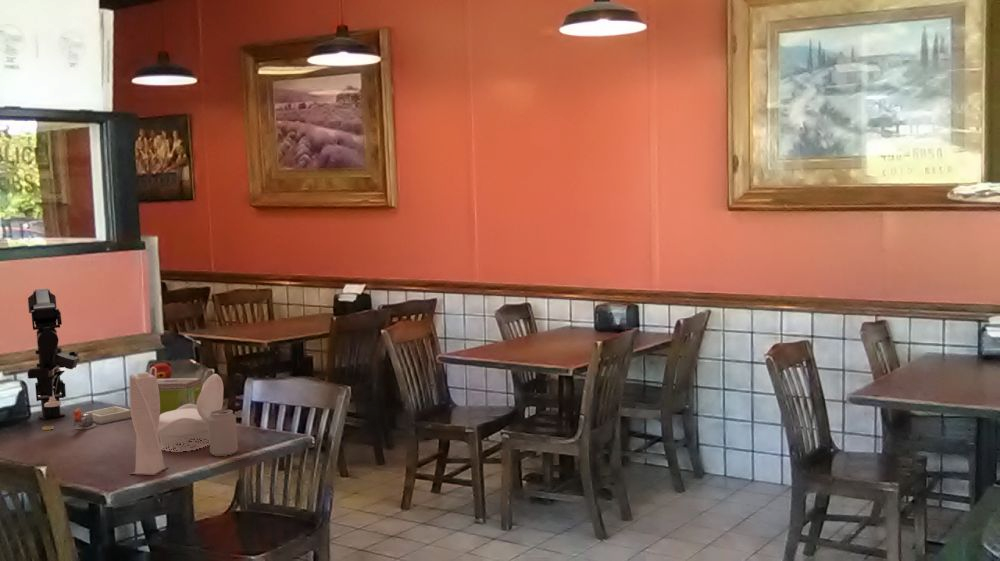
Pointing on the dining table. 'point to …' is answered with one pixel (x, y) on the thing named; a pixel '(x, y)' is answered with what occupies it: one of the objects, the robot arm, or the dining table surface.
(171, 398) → the tea box
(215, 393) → the chair
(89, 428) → the crank base
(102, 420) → the tray
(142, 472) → the skyscraper
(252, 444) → the dining table surface
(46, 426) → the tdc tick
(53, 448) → the dining table surface
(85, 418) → the crank
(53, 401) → the chess piece
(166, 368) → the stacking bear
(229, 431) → the can
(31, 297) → the robot arm
